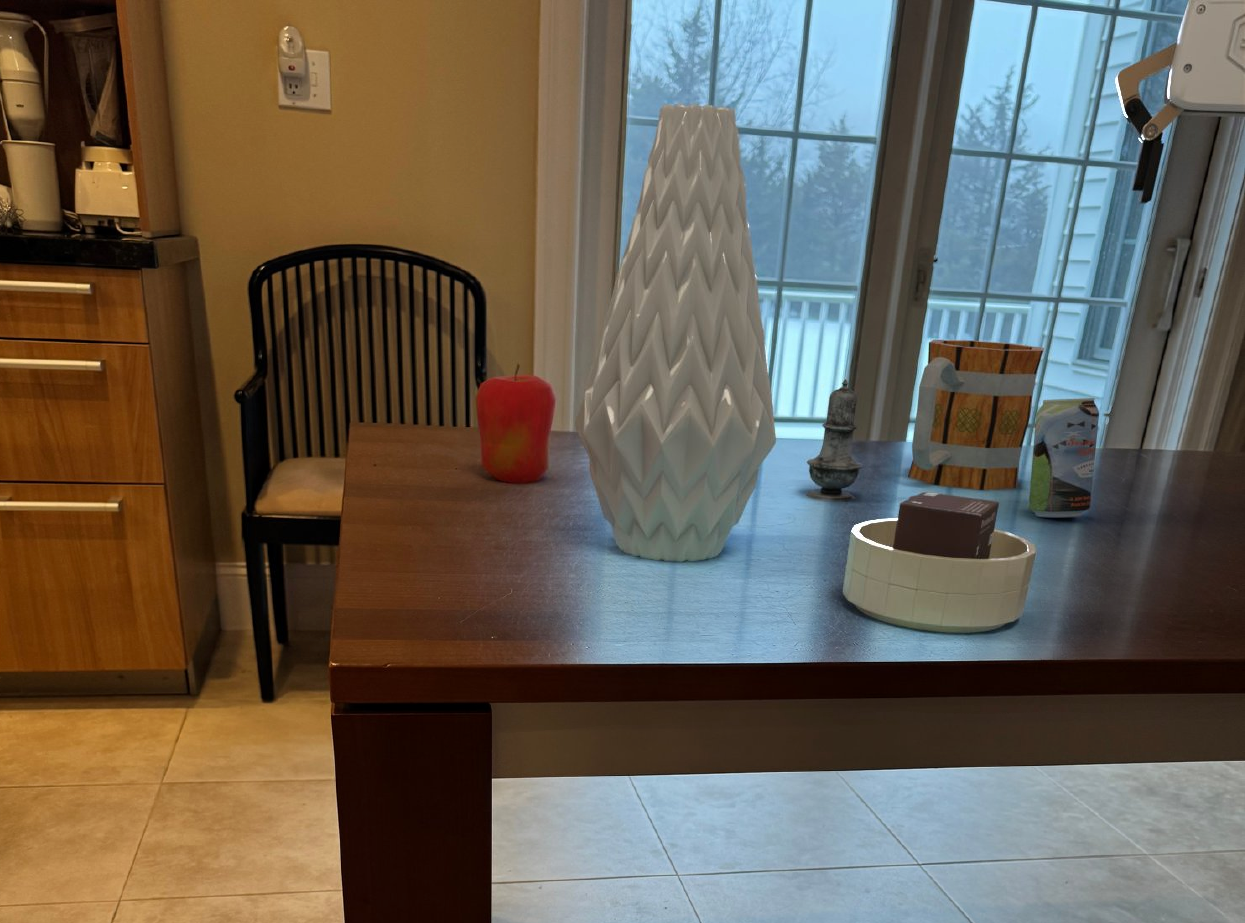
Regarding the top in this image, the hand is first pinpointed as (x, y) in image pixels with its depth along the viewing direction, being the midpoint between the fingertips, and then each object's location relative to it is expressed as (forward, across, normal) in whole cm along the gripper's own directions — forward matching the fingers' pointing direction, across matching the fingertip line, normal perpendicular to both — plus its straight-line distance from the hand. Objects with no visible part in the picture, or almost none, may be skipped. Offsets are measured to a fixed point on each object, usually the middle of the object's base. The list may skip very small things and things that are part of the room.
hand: (1211, 205), depth 88 cm
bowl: (+28, -15, -19) cm, 37 cm away
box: (+28, -15, -19) cm, 37 cm away
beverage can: (+28, -5, +24) cm, 38 cm away
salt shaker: (+28, -28, +22) cm, 46 cm away
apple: (+28, -61, +13) cm, 69 cm away
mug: (+28, -16, +39) cm, 51 cm away
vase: (+28, -38, -10) cm, 49 cm away
